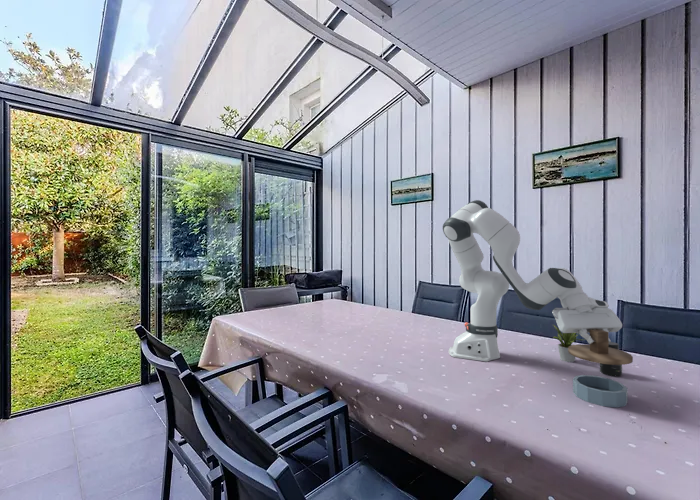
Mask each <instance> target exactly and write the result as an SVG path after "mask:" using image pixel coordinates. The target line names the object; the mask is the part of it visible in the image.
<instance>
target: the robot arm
mask: <svg viewBox="0 0 700 500" xmlns="http://www.w3.org/2000/svg"><path fill="white" fill-rule="evenodd" d="M442 232H443V235H444V236H445V238H447V240H448V242H449V245H450V247H451V249H452V253H453V254H454V256H455V258H456V260H457V262H458V264H459V267H460V271H461V272H460V273H461V274H460V276H459V279H458V281H459V285H460V287H461V288H462V289H463V290H466V291H467V292H470V293H474V294H477V298H476V301H475V303H473V304H471V306H470V310H469V311H470V322H466V321H465V323H464V327H465V331H464V332H463V333H461V334H460V335H458V336H456V338H455V339H454V341H453V346H450V347H449V349H448V354H449V356H451V357H452V358H458V359H465V360H473V361H482V362H490V361H493V360H499V359H500V358H501V353H500V349H499V344H498V336H499V335H498V333H499V332H498V331H499V328H498V325H497V309H498V304H499V302H500V300H501V298H502V297H503V296H504V295H506V293H507V292H508V291H509V289H510V287H511V288H512V289H513V291H514V292H515V294H516V296H517V298H518V300H519V301H520V303H521V304H522V305H523V306H524V307H525V308H526V309H529V310H535V311H541V310H542V309H543V308H544V307H545V306H547V305H548V304H549V303H551V302H552V301H554V300H555V299H557V298H558V299H559V300H560V304H561V306H562V307H555V308H554V309H552V311H551V313H552V316H553V317H554V319H555V322H556V325H557V328H558V329H559V330H560V332H561V333H562V332H563V333H572V334H573V333H576V334H578V335H579V336H581V337H582V338H583V339H585V340H586V341H587V343H588V345H590V344H594V343H596V340H595V338H594V337H591V336H590V330H595V329H600V330H603V331H606V332H608V343H610V342H612V341H611V338H609V333H617V332H619V331H620V330H621V329H622V328H623V323H622V321H621V319H620V318H619V317H618V315H617V314H616V313H615V312H614V311H613V309H611V308H609V303H608V302H607V301H605V300H600V299H596V298H593V297H590V296H588V294H587V293H586V292H585V291H584V290H583V287H582V285H581V283H580V282H579V280H578V279H577V278H576V277H575V276H574V275H573V273H572V272H571V271H570V270H568V269H567V268H565V267H549V268H548V269H546V270H544V271H543V272H541V273H540V274H539V275H537V276H536V277H535V278H534V279H532V280H530V281H529V282H525V280H524V279H523V278H522V276H520V273H519V272H518V271H517V269H516V268H515V267H514V265H513V259H514V256H515V254H516V252H517V250H518V249H519V246H520V242H521V234H520V232H519V230H518V228H516V226H514V225H513V223H511V222H510V221H509V220H508V219H507V218H506V217H504V216H503V215H502V214H500V213H498V212H497V211H496V210H494V209H493V208H490V207H489V206H488V205H487V204H486V203H485V202H484V201H482V200H479V199H475V200H472V201H470V202H468V203H467V204H466V205H463V206H462V207H461V208H459V209H458V210H456V212H455V213H453V214H452V215H451V216H450V217H448V218H447V219H446V220H445V221H444V223H443V224H442ZM474 234H478V235H480V236H481V238H483V240H484V241H485V242H486V243H487V244H488V245H489V246H490V248H491V249H492V253H493V255H492V260H493V262H494V264H495V266H496V267H497V269H498V270H499V272H498V271H493V270H485V269H484V268H483V266H482V262H483V261H484V253H483V252H482V249H481V247H480V245H479V244H478V243H479V242H478V241H477V239H476V237H475V236H474Z"/></svg>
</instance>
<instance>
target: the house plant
mask: <svg viewBox="0 0 700 500" xmlns="http://www.w3.org/2000/svg"><path fill="white" fill-rule="evenodd" d="M552 326H553V327H554V330H555V331H556V332H557V336H553V337H552V339H556V340H558V341H559V343H558V344H557V348H558V353H559V358H560V360H561V361H562V362H566V363H575V361H576V357H574V356H572V355H571V354H569V352H568V347H569V346H571V345H573V343H574V342H577V343H578V342H579V341H581V342H582V341H583V342H584V341H585V340H586V339H585V338H583V339H580V338H577V336H579V333H563V332H561V331H560V330H559V327H558V326H556V325H555V324H552Z"/></svg>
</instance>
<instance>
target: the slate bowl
mask: <svg viewBox="0 0 700 500" xmlns="http://www.w3.org/2000/svg"><path fill="white" fill-rule="evenodd" d="M628 391H629V390H628V387H627V386H626V385H624V384H623V383H622V382H619V381H617V380H614V379H612V378H609V377H604V376H598V375H592V374H591V375H590V374H581V375H576V376H574V377H573V378H572V393H573V394H574V395H575V396H576V398H578V399H580V400H582V401H584V402H586V403H590V404H593V405H597V406H601V407H608V408H622V407H626V406H627V404H628V403H629V401H628V398H629V397H628V394H629V393H628Z"/></svg>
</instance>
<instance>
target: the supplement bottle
mask: <svg viewBox="0 0 700 500" xmlns="http://www.w3.org/2000/svg"><path fill="white" fill-rule="evenodd" d="M608 347H610V348H614V349H618V350H620V346H619V343H618V342H613V341H611V342H610V343H608ZM599 372H600V373H601V374H602V375H605V376H609V377H617V378H619V377H621V376H622V375H623V365H611V364H602V363H599Z"/></svg>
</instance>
